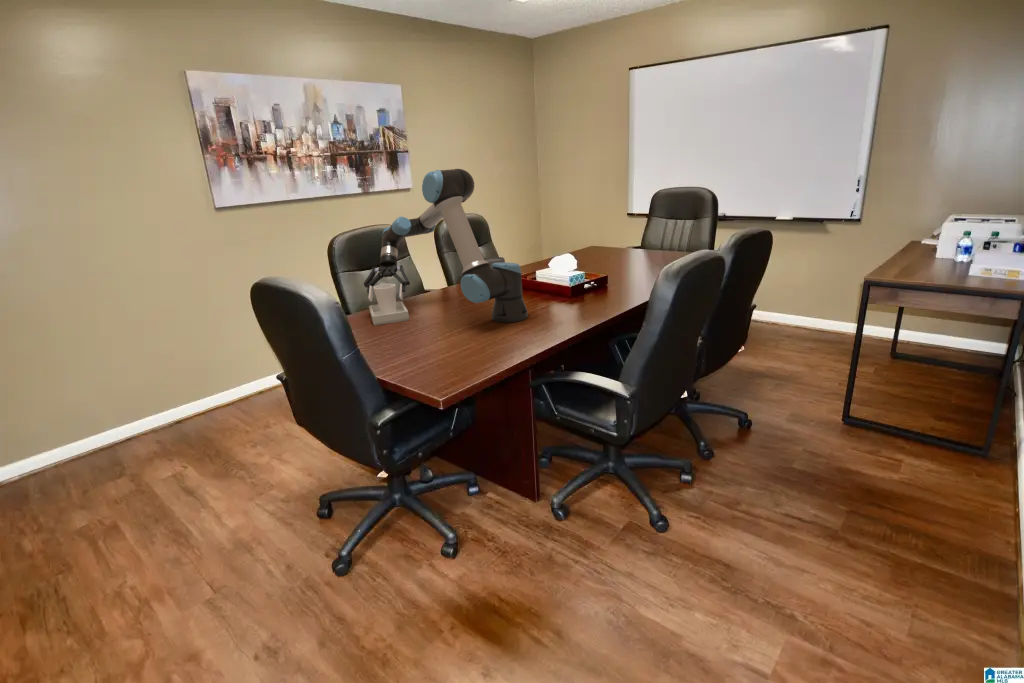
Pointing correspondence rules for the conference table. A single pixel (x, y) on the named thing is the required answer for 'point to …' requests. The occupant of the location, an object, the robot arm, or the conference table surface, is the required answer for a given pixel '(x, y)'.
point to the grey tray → (391, 317)
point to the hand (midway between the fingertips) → (385, 299)
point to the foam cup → (386, 298)
